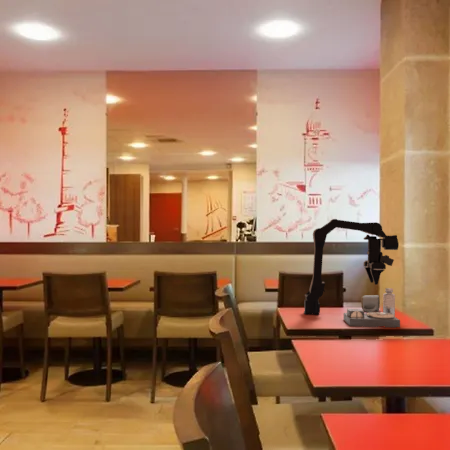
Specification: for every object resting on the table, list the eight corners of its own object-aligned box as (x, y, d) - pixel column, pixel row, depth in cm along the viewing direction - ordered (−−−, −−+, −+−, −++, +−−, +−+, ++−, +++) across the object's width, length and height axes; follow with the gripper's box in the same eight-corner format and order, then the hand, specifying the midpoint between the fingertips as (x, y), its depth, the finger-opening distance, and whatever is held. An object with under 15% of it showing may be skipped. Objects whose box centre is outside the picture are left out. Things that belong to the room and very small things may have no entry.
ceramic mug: (362, 308, 252) (362, 293, 252) (379, 309, 249) (379, 294, 249) (360, 312, 242) (360, 296, 242) (377, 313, 239) (377, 297, 239)
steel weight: (384, 319, 220) (384, 289, 220) (381, 317, 225) (382, 287, 225) (396, 320, 220) (396, 289, 220) (393, 318, 225) (393, 288, 225)
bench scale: (349, 326, 204) (349, 312, 204) (343, 319, 219) (343, 306, 219) (400, 327, 203) (400, 313, 203) (390, 321, 218) (390, 308, 218)
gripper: (397, 250, 222) (397, 286, 222) (387, 249, 241) (386, 281, 241) (371, 250, 223) (371, 285, 223) (363, 248, 242) (363, 281, 242)
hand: (374, 283), depth 232 cm, fingers open, 9 cm apart
